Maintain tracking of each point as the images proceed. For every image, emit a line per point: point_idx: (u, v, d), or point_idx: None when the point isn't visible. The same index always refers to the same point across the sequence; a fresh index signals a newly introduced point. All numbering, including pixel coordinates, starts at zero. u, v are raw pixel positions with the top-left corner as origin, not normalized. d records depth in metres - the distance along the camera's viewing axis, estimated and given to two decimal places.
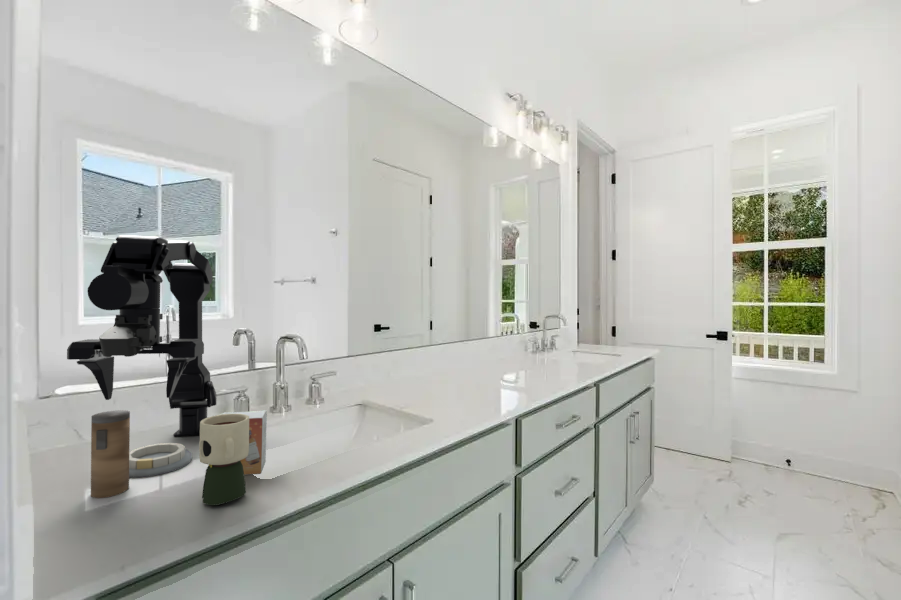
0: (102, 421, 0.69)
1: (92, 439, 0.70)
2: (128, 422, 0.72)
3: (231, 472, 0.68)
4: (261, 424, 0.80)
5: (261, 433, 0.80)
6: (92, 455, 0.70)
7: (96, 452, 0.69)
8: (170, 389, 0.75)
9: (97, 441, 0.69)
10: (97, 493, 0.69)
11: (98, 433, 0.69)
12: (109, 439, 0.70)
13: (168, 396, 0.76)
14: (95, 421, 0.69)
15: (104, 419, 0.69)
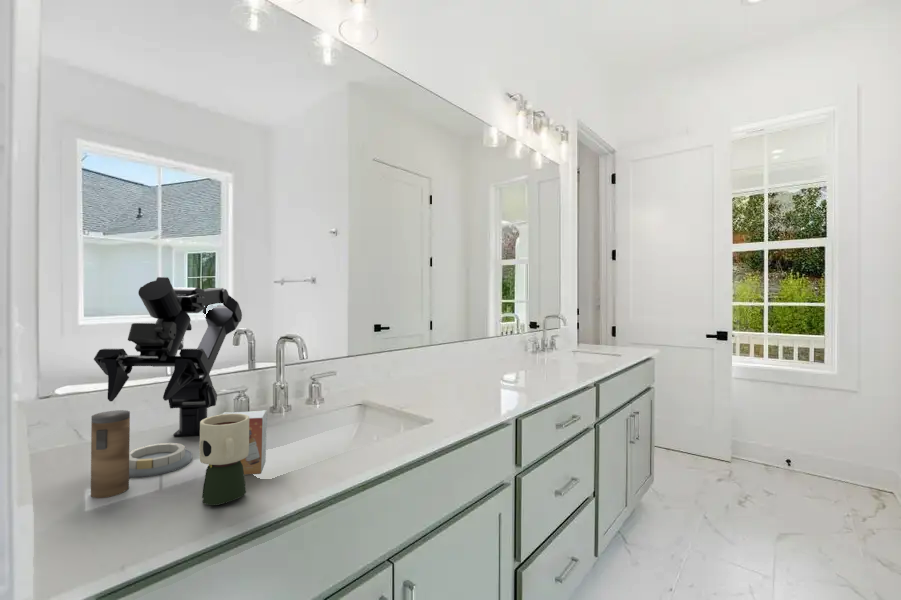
0: (102, 421, 0.69)
1: (92, 439, 0.70)
2: (128, 422, 0.72)
3: (231, 472, 0.68)
4: (261, 424, 0.80)
5: (261, 433, 0.80)
6: (92, 455, 0.70)
7: (96, 452, 0.69)
8: (169, 389, 0.80)
9: (97, 441, 0.69)
10: (97, 493, 0.69)
11: (98, 433, 0.69)
12: (109, 439, 0.70)
13: (164, 396, 0.80)
14: (95, 421, 0.69)
15: (104, 419, 0.69)
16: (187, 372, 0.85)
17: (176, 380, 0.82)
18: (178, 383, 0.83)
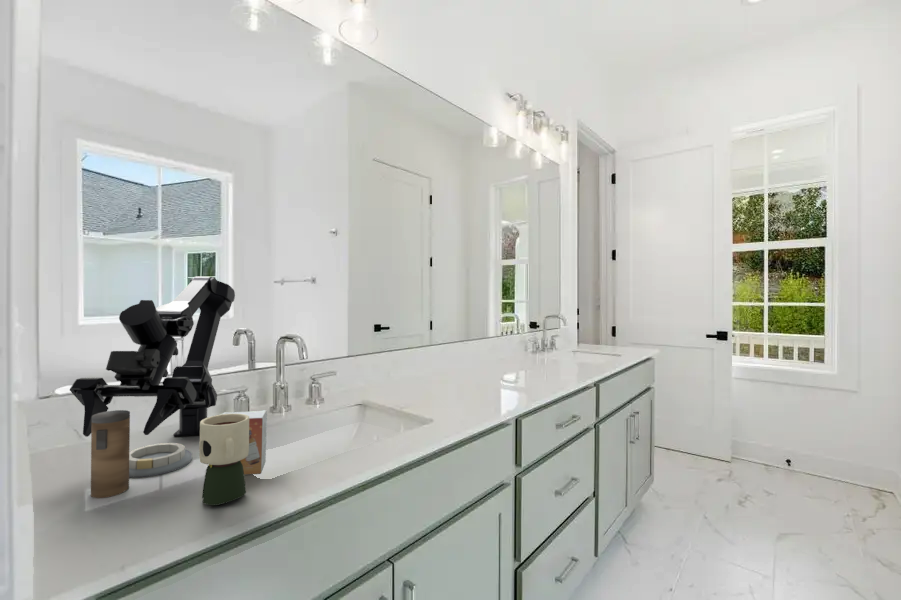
0: (102, 421, 0.69)
1: (92, 439, 0.70)
2: (128, 422, 0.72)
3: (231, 472, 0.68)
4: (261, 424, 0.80)
5: (261, 433, 0.80)
6: (92, 455, 0.70)
7: (96, 452, 0.69)
8: (150, 423, 0.74)
9: (97, 441, 0.69)
10: (97, 493, 0.69)
11: (98, 433, 0.69)
12: (109, 439, 0.70)
13: (145, 430, 0.73)
14: (96, 421, 0.69)
15: (104, 419, 0.69)
16: (171, 403, 0.79)
17: (158, 412, 0.76)
18: (161, 415, 0.76)
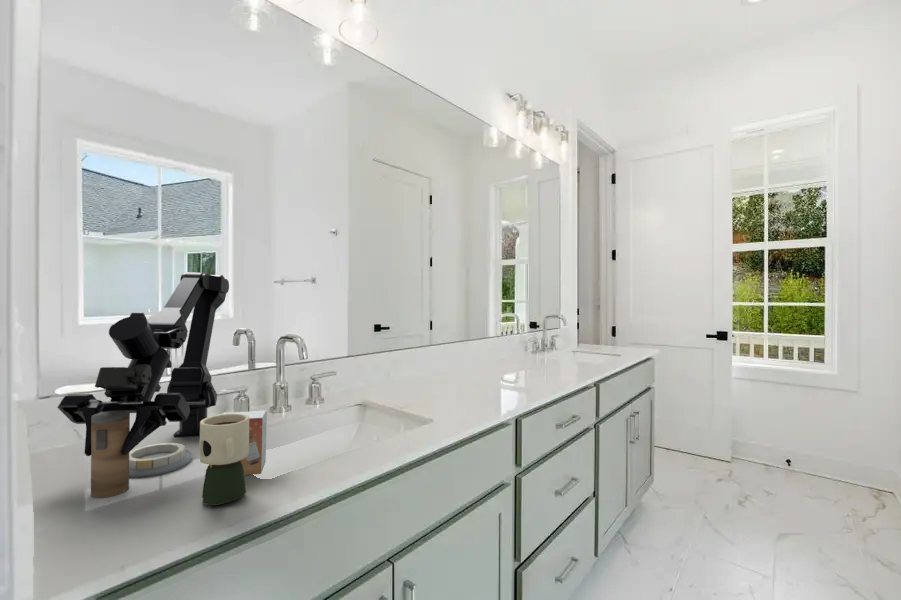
0: (102, 421, 0.69)
1: (92, 439, 0.70)
2: (128, 422, 0.72)
3: (231, 472, 0.68)
4: (261, 424, 0.80)
5: (261, 433, 0.80)
6: (92, 455, 0.70)
7: (96, 452, 0.69)
8: (128, 442, 0.71)
9: (97, 441, 0.69)
10: (97, 493, 0.69)
11: (98, 433, 0.69)
12: (109, 439, 0.70)
13: (123, 450, 0.71)
14: (95, 421, 0.69)
15: (104, 419, 0.69)
16: (151, 420, 0.76)
17: (137, 431, 0.73)
18: (140, 434, 0.74)
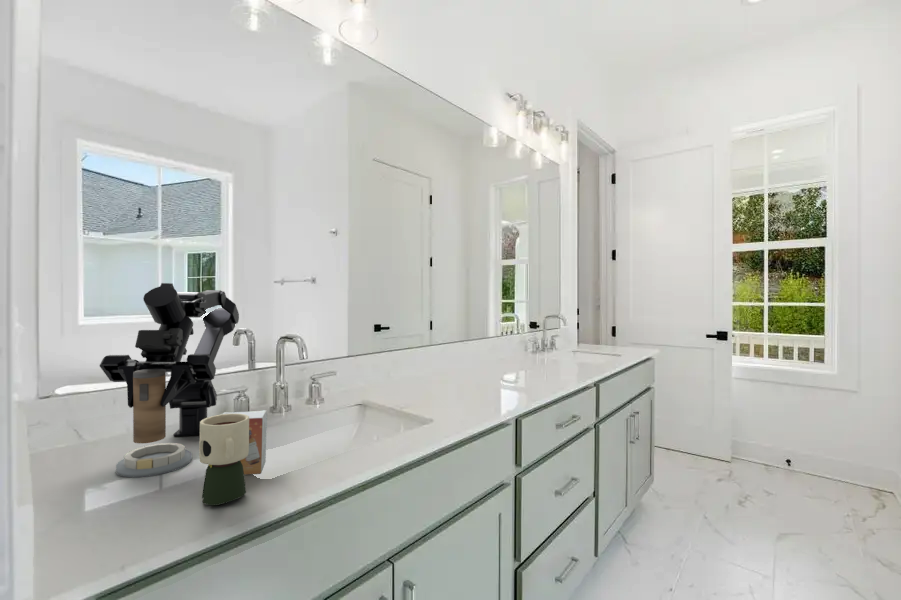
0: (144, 376, 0.79)
1: (134, 392, 0.79)
2: (165, 378, 0.82)
3: (231, 472, 0.68)
4: (261, 424, 0.80)
5: (261, 433, 0.80)
6: (135, 406, 0.79)
7: (138, 404, 0.79)
8: (166, 395, 0.81)
9: (140, 393, 0.78)
10: (140, 439, 0.79)
11: (141, 386, 0.78)
12: (150, 392, 0.79)
13: (162, 402, 0.80)
14: (138, 376, 0.79)
15: (145, 374, 0.79)
16: (183, 378, 0.86)
17: (173, 386, 0.82)
18: (175, 389, 0.83)
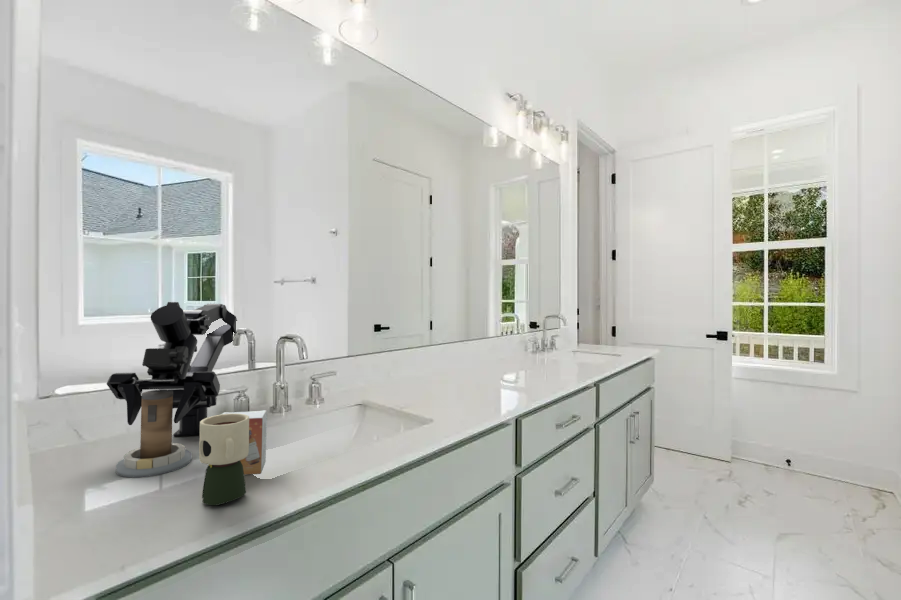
0: (152, 398, 0.81)
1: (142, 413, 0.81)
2: (172, 399, 0.84)
3: (231, 472, 0.68)
4: (261, 424, 0.80)
5: (261, 433, 0.80)
6: (142, 427, 0.81)
7: (146, 424, 0.81)
8: (179, 412, 0.83)
9: (148, 415, 0.80)
10: None
11: (149, 408, 0.80)
12: (158, 413, 0.81)
13: (175, 419, 0.82)
14: (146, 398, 0.81)
15: (154, 396, 0.81)
16: (195, 394, 0.88)
17: (185, 403, 0.85)
18: (187, 406, 0.85)
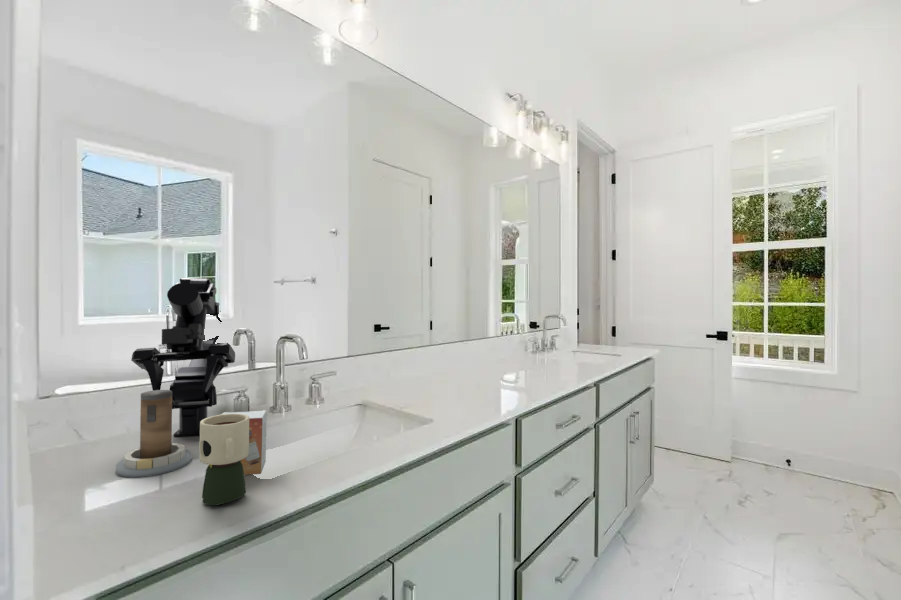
0: (151, 398, 0.81)
1: (142, 414, 0.81)
2: (171, 399, 0.84)
3: (231, 472, 0.68)
4: (261, 424, 0.80)
5: (261, 433, 0.80)
6: (142, 427, 0.81)
7: (146, 425, 0.81)
8: (206, 383, 0.92)
9: (148, 415, 0.80)
10: None
11: (148, 408, 0.80)
12: (157, 414, 0.81)
13: (204, 389, 0.91)
14: (146, 398, 0.81)
15: (153, 396, 0.81)
16: (217, 363, 0.96)
17: (211, 374, 0.93)
18: (212, 375, 0.94)
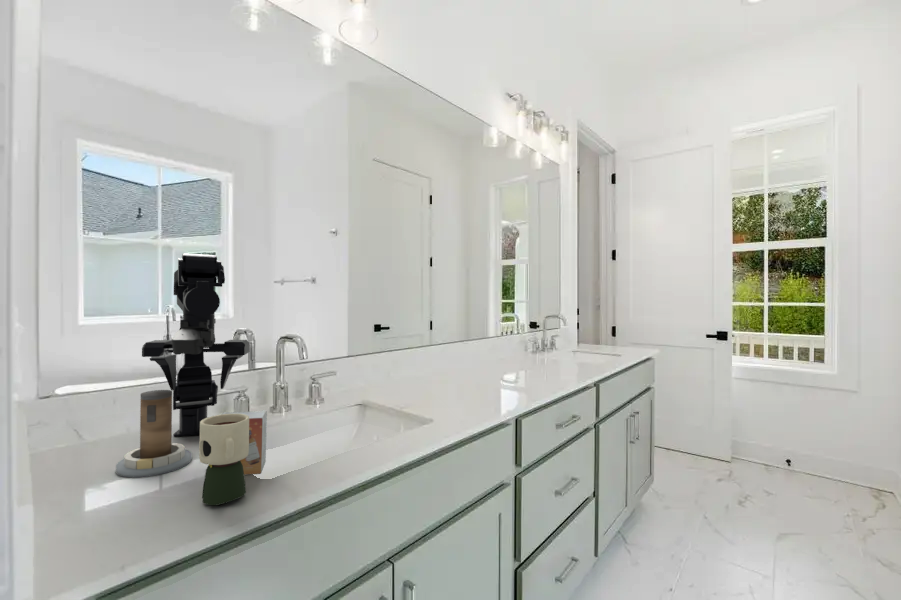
0: (151, 398, 0.81)
1: (141, 414, 0.81)
2: (171, 399, 0.84)
3: (231, 472, 0.68)
4: (261, 424, 0.80)
5: (261, 433, 0.80)
6: (142, 427, 0.81)
7: (146, 425, 0.81)
8: (223, 381, 0.91)
9: (148, 415, 0.80)
10: None
11: (148, 408, 0.80)
12: (157, 413, 0.81)
13: (222, 387, 0.91)
14: (145, 398, 0.81)
15: (153, 396, 0.81)
16: None
17: (227, 372, 0.91)
18: (228, 371, 0.92)
